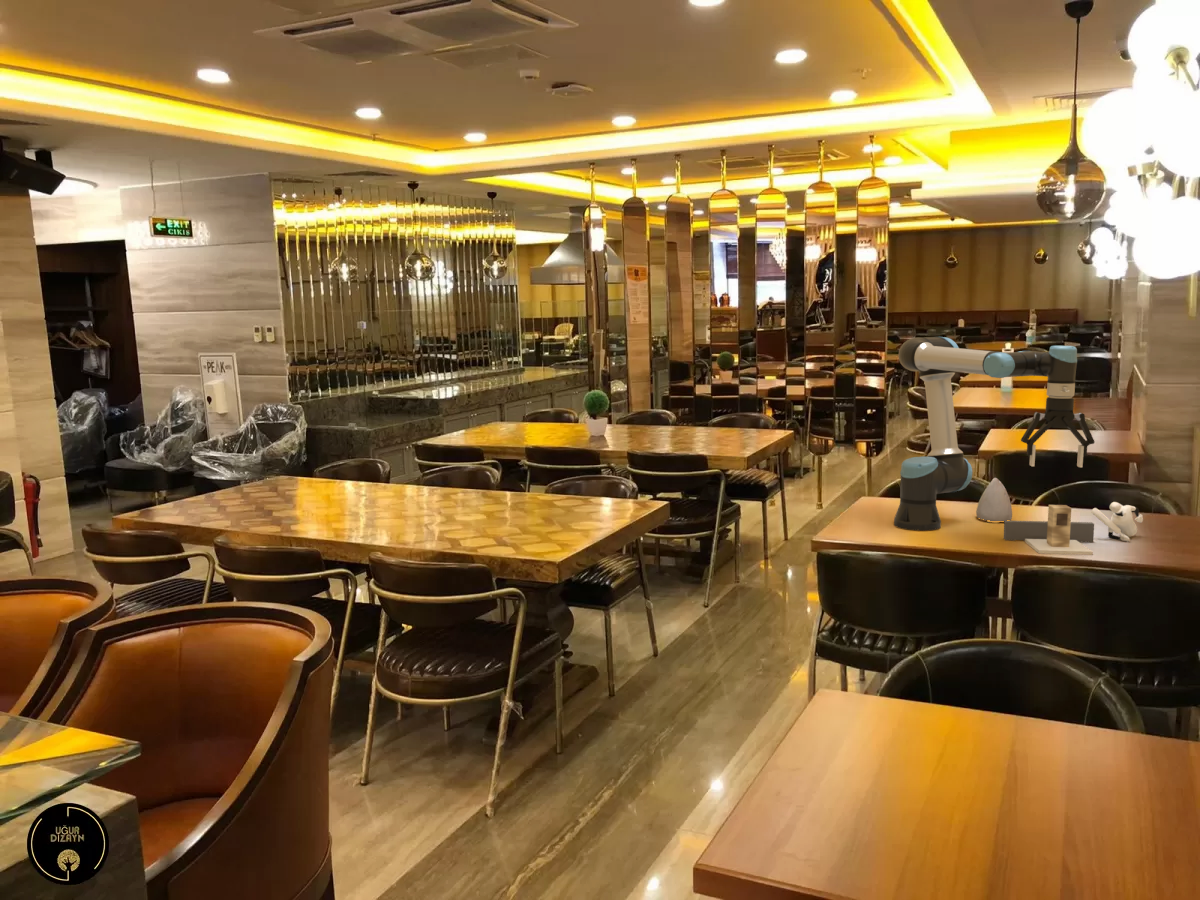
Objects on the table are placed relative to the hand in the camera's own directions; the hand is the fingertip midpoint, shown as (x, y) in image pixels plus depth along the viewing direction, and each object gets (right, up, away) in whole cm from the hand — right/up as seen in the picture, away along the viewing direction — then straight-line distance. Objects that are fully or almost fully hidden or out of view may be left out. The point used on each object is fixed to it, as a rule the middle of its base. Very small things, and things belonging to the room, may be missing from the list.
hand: (1055, 466), depth 278 cm
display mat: (+1, -25, +1) cm, 25 cm away
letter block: (+1, -24, +1) cm, 24 cm away
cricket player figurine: (+26, -24, +11) cm, 37 cm away
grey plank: (+3, -24, +10) cm, 26 cm away
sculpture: (-1, -20, +42) cm, 47 cm away
